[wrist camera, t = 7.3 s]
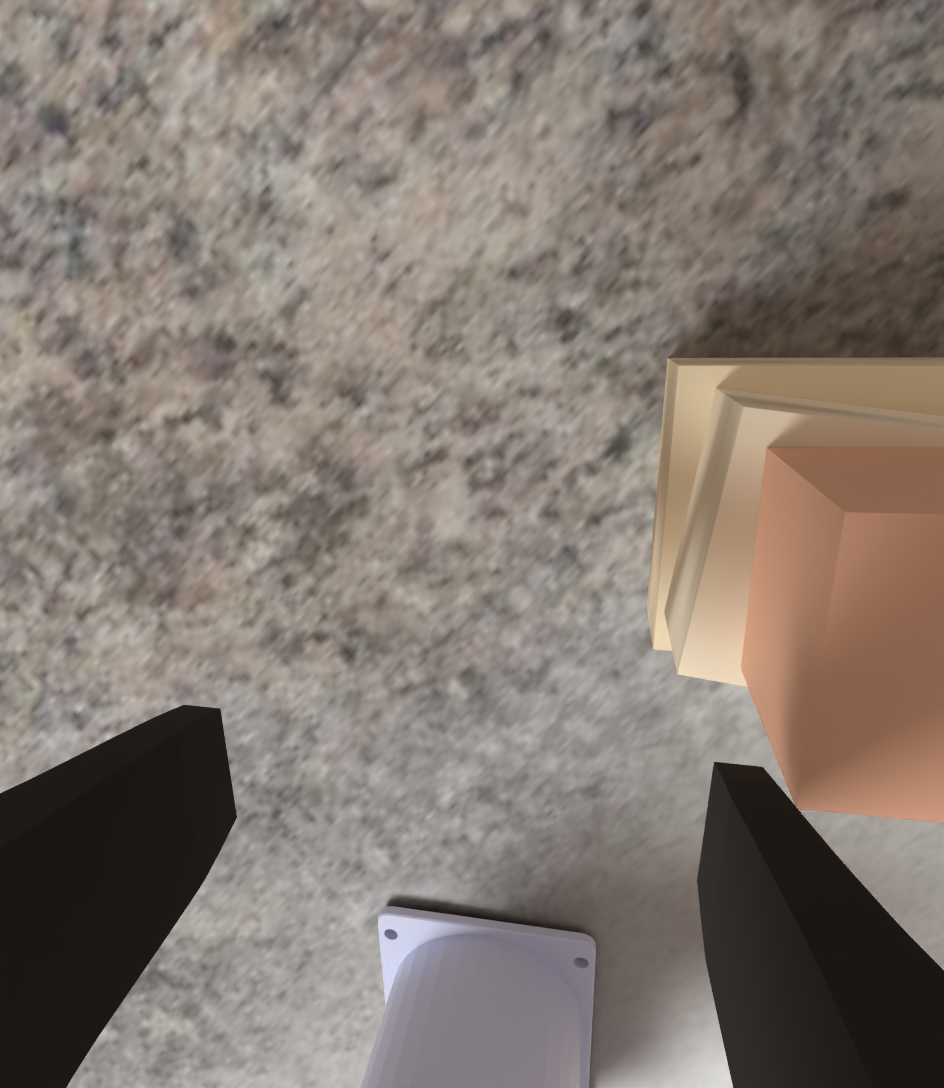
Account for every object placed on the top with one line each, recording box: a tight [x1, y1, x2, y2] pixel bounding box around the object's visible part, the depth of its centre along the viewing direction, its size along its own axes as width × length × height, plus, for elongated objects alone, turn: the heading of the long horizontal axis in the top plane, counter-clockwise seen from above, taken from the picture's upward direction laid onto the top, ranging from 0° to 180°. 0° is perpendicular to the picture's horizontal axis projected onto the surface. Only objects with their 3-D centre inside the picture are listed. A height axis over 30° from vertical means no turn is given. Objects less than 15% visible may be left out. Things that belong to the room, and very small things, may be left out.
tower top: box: [664, 388, 944, 687], centre depth 14 cm, size 6×6×3 cm
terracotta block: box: [741, 448, 944, 823], centre depth 10 cm, size 4×4×4 cm
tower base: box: [647, 357, 944, 651], centre depth 16 cm, size 7×7×3 cm
